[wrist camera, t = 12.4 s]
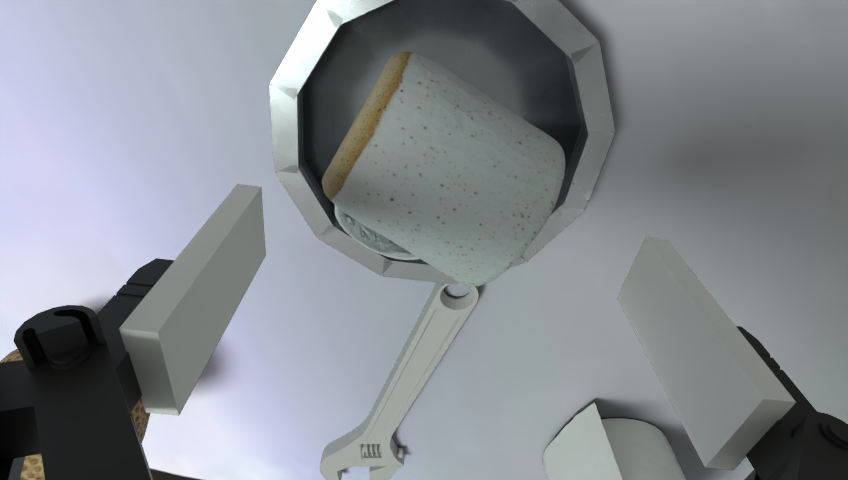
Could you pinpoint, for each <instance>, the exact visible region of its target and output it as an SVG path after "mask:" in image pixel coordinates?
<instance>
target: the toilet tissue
mask: <svg viewBox="0 0 848 480" xmlns="http://www.w3.org/2000/svg"><path fill="white" fill-rule="evenodd" d="M543 466H544V472H545V475H546V479H547V480H686V478H685V476H684V474H683V472H682V469H681V466H680V465H679V463H678V461H677V458H676V456H675V454H674V453H673V451H672V447H671V446H670V444H669V443H668V441H667V438H666V437H665V435H664V434H663V433H662V431H660V430H659V429H658V428H656V427H655V426H653V425H650V424H648V423H646V422H642V421H638V420H634V419H624V418H616V419H603V420H601V419H600V415H599V413H598V411H597V407H596V404H595V402H594V403H593V404H591V405H590V406H588V407H587V408H586V409H585V410H583V411H582V412H581V413H579V414H577V415H576V416H575V417H574V418H573V420H572V421H571V422H570V423H569V424H567V425H566V426H565V427H564V428H563V430H562V431H561V432H560V433H559V434H558V436H557V437H556V438H555V439H554V440H553V441H552V442H551V443H550V444H549V445H548V446H547V448H546V450H545V452H544V454H543Z"/></svg>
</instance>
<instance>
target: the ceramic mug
mask: <svg viewBox="0 0 848 480" xmlns="http://www.w3.org/2000/svg"><path fill="white" fill-rule="evenodd" d="M564 176H565V156H564V152H563V150H562V147H561V146H560V144H559V143H558V142H557V141H556V140H555V139H553V138H552V137H550V136H549V135H548V134H546V133H544V132H543V131H541V130H540V129H538V128H536V127H535V126H533V125H531V124H530V123H528V122H527V121H525V120H524V119H522V118H521V117H519V116H518V115H516V114H515V113H513V112H512V111H511V110H509V109H508V108H506V107H505V106H503V105H502V104H500V103H499V102H497V101H495V100H494V99H492V98H490V97H489V96H487V95H485V94H484V93H482V92H480V91H479V90H478V89H476V88H475V87H473V86H472V85H470V84H469V83H467V82H466V81H464V80H463V79H462V78H460V77H459V76H457V75H455V74H454V73H452V72H451V71H449V70H448V69H446V68H445V67H443V66H442V65H440V64H438V63H436V62H434V61H432V60H430V59H427V58H425V57H423V56H421V55H419V54H416V53H412V52H408V51H405V52H400V53H396V54H394V55H392V56H391V57H390V59H389V60H388V62H387V64H386V66H385V68H384V69H383V71H382V73H381V75H380V76H379V78H378V80H377V82H376V83H375V85H374V87H373V88H372V90H371V92H370V94H369V96H368V97H367V99H366V101H365V103H364V105H363V106H362V108H361V110H360V112H359V113H358V115H357V117H356V119H355V120H354V122H353V124H352V126H351V128H350V129H349V131H348V133H347V135H346V137H345V138H344V140H343V142H342V143H341V145H340V147H339V149H338V151H337V153H336V154H335V156H334V158H333V160H332V162H331V163H330V165H329V167H328V169H327V170H326V172H325V174H324V176H323V179H322V185H323V191H324V193H325V195H326V196H327V197H328V198H329V199H330V200H331V201H332V202H333V203H334V204H335V216H336V218H337V220H338V222H339V224H340V225H341V227H342V228H343V229H344V231H345V232H346V233H348V234H349V235H350V236H351V237H352V238H353V239H354V240H356V241H357V242H359V243H360V244H362V245H363V246H365V247H366V248H368V249H370V250H372V251H374V252H376V253H379V254H381V255H384V256H387V257H391V258H395V259H401V260H418V259H421V260H423V261H425V262H426V263H428V264H429V265H431V266H433V267H434V268H436V269H438V270H439V271H441V272H443V273H444V274H446V275H448V276H449V277H451V278H453V279H454V280H456V281H458V282H460V283H462V284H464V285H466V286H481V285H483V284H486V283H488V282H490V281H492V280H494V279H496V278H497V277H499V276H500V275H501V274H502V273H504V272H505V271H506V270H508V269H509V268H510V267H511V266H512V265H513V264H514V263H515V262H516V261H517V260H518V259H519V258H520V257H521V256H522V255H523V254H524V252H525V251H526V249H527V248H528V247H529V246H530V244H531V243H532V242H533V241H534V239H535V238H536V237H537V235H538V234H539V233H540V231H541V230H542V228H543V226H544V225H545V223H546V222H547V220H548V219H549V217H550V215H551V213H552V211H553V209H554V207H555V204H556V202H557V199H558V196H559V193H560V189H561V186H562V183H563V179H564Z"/></svg>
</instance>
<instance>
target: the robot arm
mask: <svg viewBox="0 0 848 480" xmlns="http://www.w3.org/2000/svg"><path fill="white" fill-rule="evenodd" d="M265 256H266V250H265V235H264V220H263V205H262V190H261V187H257V186H249V185H242V184H237V185H236V186H235V188H234V189H233V190H232V191H231V193H230V194H229V195H228V196H227V197H226V199H225V200H224V201H223V202H222V204H221V205H220V206H219V207H218V208H217V210H216V211H215V212H214V213H213V214H212V216H211V217H210V218H209V219H208V221H207V222H206V223H205V224H204V225H203V227H202V228H201V229H200V230H199V232H198V233H197V234H196V235H195V236H194V238H193V239H192V240H191V241H190V243H189V244H188V245H187V246H186V247H185V249H184V250H183V251H182V252H181V253H180V255H179V256H178V257H177V258H176V260H175V261H173V260H165V259H155V260H153V261H151V262H150V263H148V264H146V265H144V266H143V267H141V268H139V269H138V270H137V271H136V272H135V273H134V274H133V275H132V277H131V278H130V279H129V280H128V281H127V283H126V285H123V286H122V288H121V289H120V290H119V291H118V292H117V295H116V296H115V295H114V296H113V297H112V299H111V300H110V301H109V302H108V303H107V304H106V305H105V306H104V307H103V308H102V309H101V311H100V312H99V313H98V314H97V315H96V314H95V312H94V311H93V310H92V309H90V308H87V307H84V306H76V305H67V306H61V307H56V308H52V309H49V310H46V311H44V312H41V313H38V314H36V315H35V316H33V317H32V318H30V319H29V320H27V321H25V322H24V323H23V324H22V325H21V327H20V328H19V329H18V330H17V331H16V334H15V338H14V342H15V344H16V346H17V348H18V350H19V352H20V354H21V356H22V358H23V360H17V361H10V362H2V363H0V480H20V477H21V472H22V468H23V464H24V460H25V457H26V456H31V455H36V454H41V456H42V463H43V469H44V476H45V480H153V478H152V475H151V472H150V469H149V466H148V462H147V459H146V456H145V453H144V450H143V447H142V444H141V441H140V438H139V435H138V432H137V429H136V426H135V423H134V420H133V417H132V414H131V412H132V410H133V409H134V407H135V406H136V404H137V403H138V401H139V399H140V398H141V399H142V402H143V405H144V408H145V411H146V412H147V413H158V414H168V415H178V416H179V415H180V413H181V411H182V409H183V407H184V405H185V404H186V402H187V400H188V398H189V396H190V394H191V392H192V391H193V389H194V387H195V385H196V383H197V381H198V380H199V378H200V376H201V374H202V372H203V370H204V368H205V367H206V365H207V363H208V361H209V359H210V357H211V355H212V354H213V352H214V350H215V348H216V346H217V344H218V343H219V341H220V339H221V337H222V335H223V333H224V331H225V330H226V328H227V326H228V324H229V322H230V320H231V319H232V317H233V315H234V313H235V311H236V309H237V307H238V306H239V304H240V302H241V300H242V298H243V296H244V295H245V293H246V291H247V289H248V287H249V285H250V283H251V282H252V280H253V278H254V276H255V274H256V272H257V270H258V269H259V267H260V265H261V263H262V261H263V259H264V258H265ZM617 299H618V301H619V303H620V305H621V307H622V309H623V311H624V313H625V315H626V317H627V318H628V320H629V322H630V324H631V326H632V328H633V330H634V332H635V334H636V336H637V338H638V340H639V342H640V344H641V345H642V347H643V349H644V351H645V353H646V355H647V357H648V359H649V361H650V363H651V365H652V367H653V369H654V371H655V372H656V374H657V376H658V378H659V380H660V382H661V384H662V386H663V388H664V390H665V392H666V394H667V396H668V398H669V399H670V401H671V403H672V405H673V407H674V409H675V411H676V413H677V415H678V417H679V419H680V421H681V423H682V425H683V426H684V428H685V430H686V432H687V434H688V436H689V438H690V440H691V442H692V444H693V446H694V448H695V450H696V452H697V453H698V455H699V457H700V459H701V461H702V463H703V465H704V467H705V468H715V469H725V470H734V469H735V468H736V467H737V466H738V465H739V464H740V462H741V461H742V460H743V459H744V458H745V457H746V456H747V458H748V460H749V461H750V463H751V465H752V466H753V468H754V470H753V471H752V472H751V473H750V474H749V475H748V476H747V478H746V479H745V480H848V424H846V423H845V422H843V421H842V420H840V419H838V418H835V417H833V416H831V415H829V414H825V413H820V412H817V411H816V410H815V409H814V408H813V406H812V405H811V404H810V403H809V401H808V400H807V399H806V398H805V397H804V395H803V394H802V393H801V392H800V390H799V389H798V388H797V387H796V386H795V384H794V383H793V382H792V381H791V380H790V378H789V377H788V376H787V375H786V373H785V372H784V371H783V370H780V366H779V365H778V364H777V362H776V361H775V360H774V359H773V358H770V354H769V353H768V352H767V350H766V349H765V348H764V347H763V345H762V344H761V343H760V342H759V341H758V340H757V339H756V338H755V337H753V336H752V335H751V334H750V333H748V332H747V331H746V330H745V329H743V328H742V327H739V326H735V324H734V323H733V322H732V321H731V319H730V318H729V317H728V316H727V314H726V313H725V312H724V311H723V309H722V308H721V307H720V305H719V304H718V303H717V302H716V300H715V299H714V298H713V297H712V295H711V294H710V293H709V292H708V290H707V289H706V288H705V287H704V285H703V284H702V283H701V282H700V280H699V279H698V278H697V276H696V275H695V274H694V273H693V271H692V270H691V269H690V268H689V266H688V265H687V264H686V263H685V261H684V260H683V259H682V258H681V256H680V255H679V254H678V252H677V251H676V250H675V249H674V247H673V246H672V245H671V244H670V242H669V241H668V240H666V239H658V238H650V237H646V238H645V240H644V242H643V244H642V246H641V248H640V250H639V253H638V255H637V257H636V259H635V261H634V263H633V265H632V267H631V269H630V271H629V273H628V275H627V277H626V279H625V281H624V283H623V285H622V287H621V290H620V292H619V294H618V296H617Z"/></svg>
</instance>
